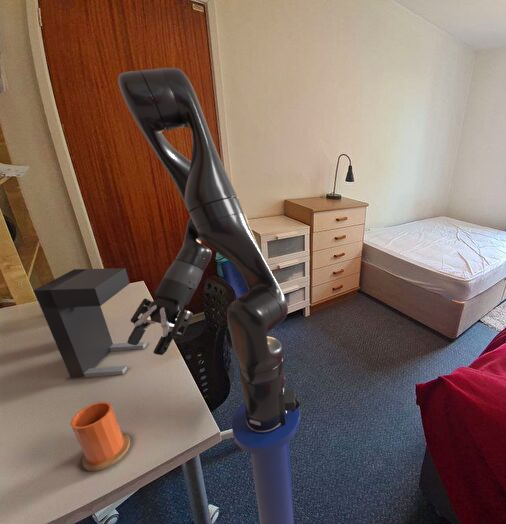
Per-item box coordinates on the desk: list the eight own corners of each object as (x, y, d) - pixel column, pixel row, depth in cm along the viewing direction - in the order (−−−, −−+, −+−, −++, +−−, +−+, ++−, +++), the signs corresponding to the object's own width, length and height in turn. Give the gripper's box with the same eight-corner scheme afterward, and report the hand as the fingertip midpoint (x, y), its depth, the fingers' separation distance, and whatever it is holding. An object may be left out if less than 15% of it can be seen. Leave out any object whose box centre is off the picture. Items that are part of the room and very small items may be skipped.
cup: (130, 434, 62) (118, 400, 58) (113, 462, 56) (98, 426, 52) (99, 437, 61) (85, 403, 57) (79, 466, 55) (61, 430, 51)
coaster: (137, 433, 63) (136, 430, 62) (116, 468, 56) (115, 466, 55) (99, 437, 61) (98, 434, 61) (73, 474, 55) (72, 471, 54)
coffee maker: (146, 344, 91) (125, 268, 81) (123, 374, 79) (94, 288, 69) (101, 347, 88) (74, 269, 79) (70, 378, 77) (33, 290, 67)
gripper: (146, 272, 67) (107, 338, 61) (190, 282, 63) (152, 355, 57) (171, 283, 74) (138, 344, 68) (213, 293, 69) (180, 360, 63)
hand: (144, 349), depth 62 cm, fingers open, 8 cm apart
